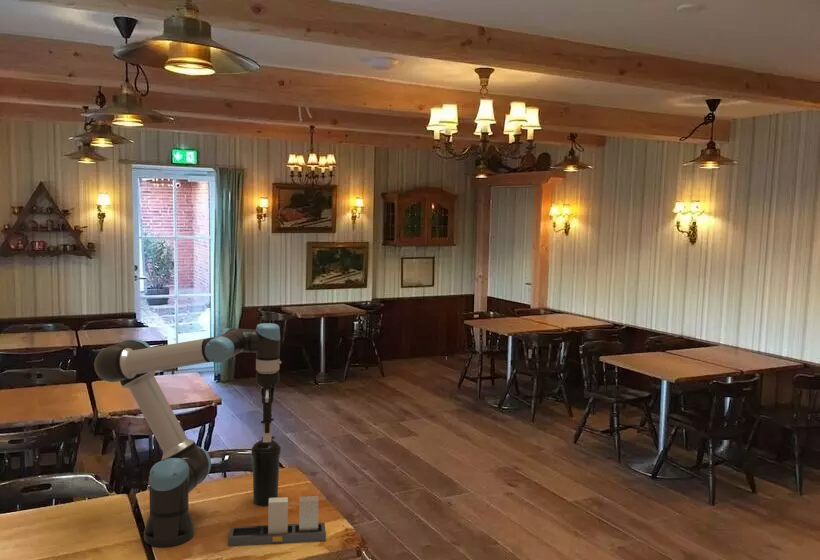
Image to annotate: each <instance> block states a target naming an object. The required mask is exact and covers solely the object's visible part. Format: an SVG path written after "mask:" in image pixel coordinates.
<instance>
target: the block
mask: <svg viewBox="0 0 820 560" xmlns="http://www.w3.org/2000/svg"><path fill="white" fill-rule="evenodd" d="M267 507H268V510H267V511H268V516H267V517H268V518H267V520H268V521H267V525H268V534H283V533H288V524H289V518H288V517H289V515H288V514H289V497H287V496H284V497H278V498H269V506H267Z"/></svg>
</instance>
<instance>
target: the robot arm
mask: <svg viewBox="0 0 820 560" xmlns="http://www.w3.org/2000/svg"><path fill="white" fill-rule="evenodd" d="M280 331H281V330H280V325H279V324H277V323H271V322H270V323H268V322H266V323H264V322H263V323H258V324H257V325H256V329H249V328H248V329H247V328H235V327H229V328H226V327H225V328H222V329H221V331H220V332H219V334H218V335H217V336H212V337H211V336H210V337H207V338H206V337H205V338H201V339H195V340H190V341H189V340H188V341H182V342H175V343H171V344H164V345H157V346H150V344H149V343H147V342H146V341H144V340H142V339H137V338H134V339H127V340H124V341H121V342H119V343H116V344H114V345H110V346H107V347H105V348H103V349H101V351H99V352H98V354H97V356H95V359H94V363H93V365H94V366H93V367H94V368H93V369H94V372H95V373H96V375H97V376H98V378H100V379H101V380H102V381H105V382H107V383H118V382H119V383H120V385H121V386H122V388H125V389H128V390H129V391H130V393H131V395H132V397H133V398H134V400H135V402H136V404H137V406H138V408H139V409H140V412H141V413H142V415H143V417H144V419H145V421H146V422H147V425H148V426H149V428H150V430H151V432H152V434H153V436H154V437H155V439H156V441H157V443H158V445H159V446H160V448H161V450H162V452H163V454H162V456H161V460H159V461H158V462H156V463H155V464H153V466H152V467H151V468H150V471H149V477H148V484H149V485H148V486H149V489H148V490H149V493H148V494H149V496H148V497H149V515H148V519H147V522H146V523H145V527H144V531H143V541H144V543H146V544H147V545H149V546H151V547H158V548H167V547H174V546H179V545H181V544H184V543H186V542H188V541H189V540H191V539H192V538H193V537H194V535H195V524H194V521H193V519H192V516H191V513H190V510H189V503H190V502H189V494H190V493H191V492H192V491H193V490H194V489H196V487H198V485H199V484H202V482H203V481H204V480H205V479H206V478H207V476H208V475H209V473H210V472H211V468H212V461H211V456H210V455H209V452H208V451H207V450H206V449H205V448H202V447H201V446H198V445H197V443H196V442H195V440H193V439H189V438H188V437H187V435H186V434H185V432H184V429H183V427H182V425H181V424H180V422H179V420H178V418H177V417H176V414H175V412H174V410H173V409H172V407H171V405H170V404H169V402H168V400H167V397H166V396H165V394H164V392H163V390H162V388H161V386H160V384H159V382H158V381H157V379H156V377H155V376H156V372H158V371H165V370H170V369H176V368H177V369H178V368H182V367H189V366H196V365H200V364H201V365H202V364H207V363H215V364H216V363H217V364H220V363H222V362H223V363H224V362H226V361H229V360H230V359H231V358H233V357H234V356H237V355H238V354H240V353H250V354H251V353H253V354H254V353H256V356H255V357H256V358H255V371H256V373H255V383H256V384H257V385H259V386H263V387H261V390H260V391H261V392H260V393H261V403H262V414H263V416H262V420H261V421H260V423H261V424H262V437H263V442H271V436H272V430H273V429H272V428H273V427H272V425H273V422H274V421H275V419H274V418H272V416H273V414H272V406H273V404H272V403H273V402H274V395H275V394H274V393H275V387H272V386H273V385H274V386H275V385H278V384H279V383H280V379H281V378H280V365H281V364H282V360H280V358H281V354H280V353H281V352H280V351H281V350H280V349H281V332H280Z"/></svg>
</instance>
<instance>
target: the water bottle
mask: <svg viewBox="0 0 820 560" xmlns="http://www.w3.org/2000/svg"><path fill="white" fill-rule="evenodd" d="M275 438H276V436H272V435H271V442H263V436H262V437H261V440H258V441H256V442H255V443H254V444H253V446H252V447H251V457H252V488H253V493H252V494H253V496H252V497H253V504H255V505H256V506H259V507H268V506H269V498H279V477H280V476H279V473H280V456H281V455H280V454H281V451H282V450H281V446H280V444H279V443H278V442H277V441H275V440H274V439H275Z"/></svg>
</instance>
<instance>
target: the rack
mask: <svg viewBox="0 0 820 560" xmlns="http://www.w3.org/2000/svg"><path fill="white" fill-rule="evenodd" d="M319 501H320V500H319V495H314V496H313V495H311V496H299V505H298V508H299V511H298V512H299V514H298V516H299V517H298V523H288V533H283V534H268V524H265V525H246V526H245V525H243V526H230V528H229V532H228V537H227V538H228V539H227V540H228V541H227V545H228V547H236V546H253V545H255V546H257V545H274V544H291V543H314V542H326V537H327V535H326V533H327V532H326V523H325V521H324V522H319V504H320V503H319Z"/></svg>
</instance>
